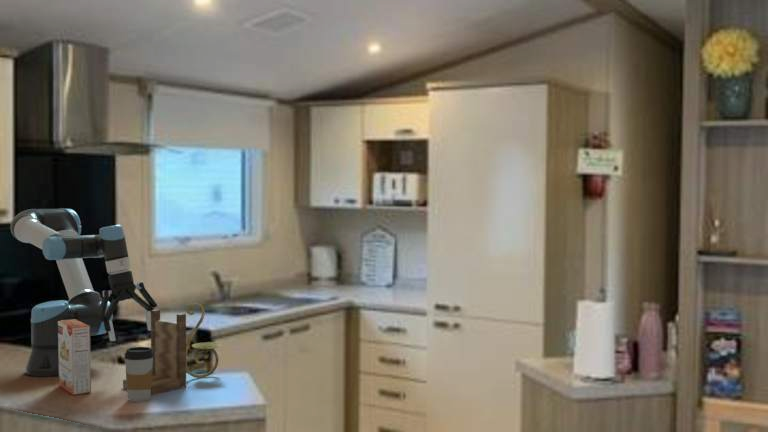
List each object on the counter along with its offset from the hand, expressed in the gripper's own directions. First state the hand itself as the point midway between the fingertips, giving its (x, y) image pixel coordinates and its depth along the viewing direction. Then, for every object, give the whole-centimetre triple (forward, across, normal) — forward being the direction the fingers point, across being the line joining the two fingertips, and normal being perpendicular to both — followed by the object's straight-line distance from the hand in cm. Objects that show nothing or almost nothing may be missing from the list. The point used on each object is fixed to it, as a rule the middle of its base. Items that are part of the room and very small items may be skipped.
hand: (132, 335), depth 275 cm
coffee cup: (+16, -13, -24) cm, 32 cm away
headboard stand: (+16, -3, -14) cm, 22 cm away
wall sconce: (+18, +14, -13) cm, 26 cm away
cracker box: (+12, -23, -1) cm, 25 cm away
